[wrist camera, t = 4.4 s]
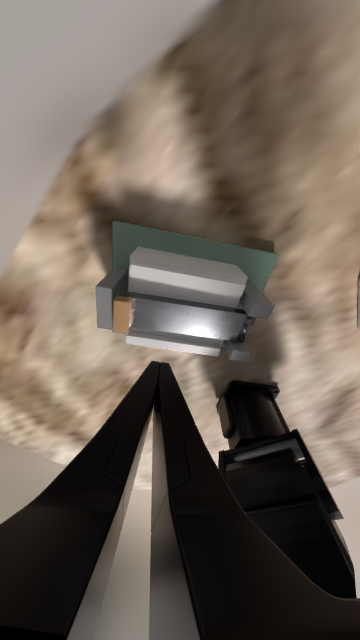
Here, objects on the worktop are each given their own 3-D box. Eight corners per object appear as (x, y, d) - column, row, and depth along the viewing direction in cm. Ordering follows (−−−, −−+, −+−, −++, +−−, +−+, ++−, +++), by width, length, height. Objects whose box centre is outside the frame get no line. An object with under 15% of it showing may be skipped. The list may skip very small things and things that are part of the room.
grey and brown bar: (254, 310, 14) (263, 322, 13) (243, 335, 16) (250, 349, 14) (120, 289, 13) (113, 300, 12) (119, 318, 14) (113, 331, 13)
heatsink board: (274, 252, 16) (313, 272, 11) (234, 345, 21) (250, 385, 16) (115, 220, 15) (86, 228, 10) (114, 327, 20) (94, 365, 15)
